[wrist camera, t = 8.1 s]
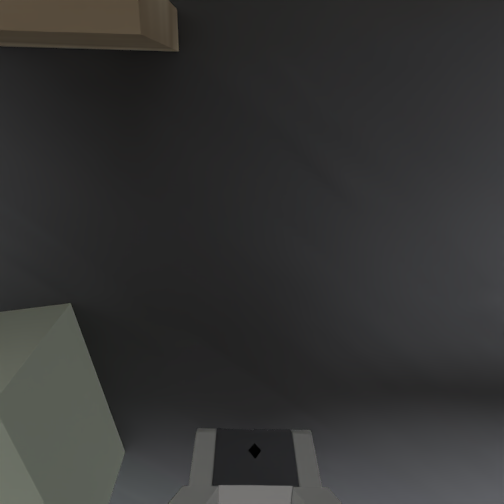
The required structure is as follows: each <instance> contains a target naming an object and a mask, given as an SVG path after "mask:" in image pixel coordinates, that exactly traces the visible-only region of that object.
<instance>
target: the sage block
mask: <svg viewBox="0 0 504 504" xmlns="http://www.w3.org/2000/svg"><path fill="white" fill-rule="evenodd" d="M124 454H125V450H124V448H123V445H122V442H121V439H120V437H119V434H118V431H117V428H116V426H115V423H114V420H113V417H112V415H111V412H110V409H109V407H108V404H107V401H106V398H105V396H104V393H103V390H102V387H101V385H100V382H99V379H98V376H97V374H96V371H95V368H94V366H93V363H92V360H91V357H90V355H89V352H88V349H87V346H86V344H85V341H84V338H83V335H82V333H81V330H80V327H79V325H78V322H77V319H76V316H75V314H74V311H73V308H72V305H71V303H67V304H59V305H51V306H43V307H35V308H27V309H19V310H11V311H4V312H0V504H109V502H110V498H111V495H112V492H113V489H114V486H115V483H116V479H117V476H118V473H119V470H120V467H121V464H122V461H123V457H124Z"/></svg>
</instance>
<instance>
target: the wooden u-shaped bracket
mask: <svg viewBox="0 0 504 504" xmlns="http://www.w3.org/2000/svg"><path fill="white" fill-rule="evenodd" d="M0 46H6V47H40V48H75V49H110V50H144V51H179V44H178V21H177V9H176V8H175V7H174V6H173V5H172V3H171V2H170V1H169V0H0Z"/></svg>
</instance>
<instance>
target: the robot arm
mask: <svg viewBox="0 0 504 504" xmlns="http://www.w3.org/2000/svg"><path fill="white" fill-rule="evenodd" d="M168 504H342V503H341V502H340V500H339V499H338V498H337V497H336V496H335V495H334V494H333V492H332V491H331V490H330V489H329V488H327V487H322V483H321V478H320V473H319V467H318V462H317V457H316V452H315V447H314V442H313V437H312V433H311V431H310V430H290V429H254V430H245V429H221V428H217V429H214V428H197V431H196V436H195V443H194V450H193V458H192V465H191V472H190V479H189V486H182V487H181V489H180V490H179V491H178V492H177V493H176V495H175V496H174V497H173V498H172V499H171V501H170V502H169V503H168Z"/></svg>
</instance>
